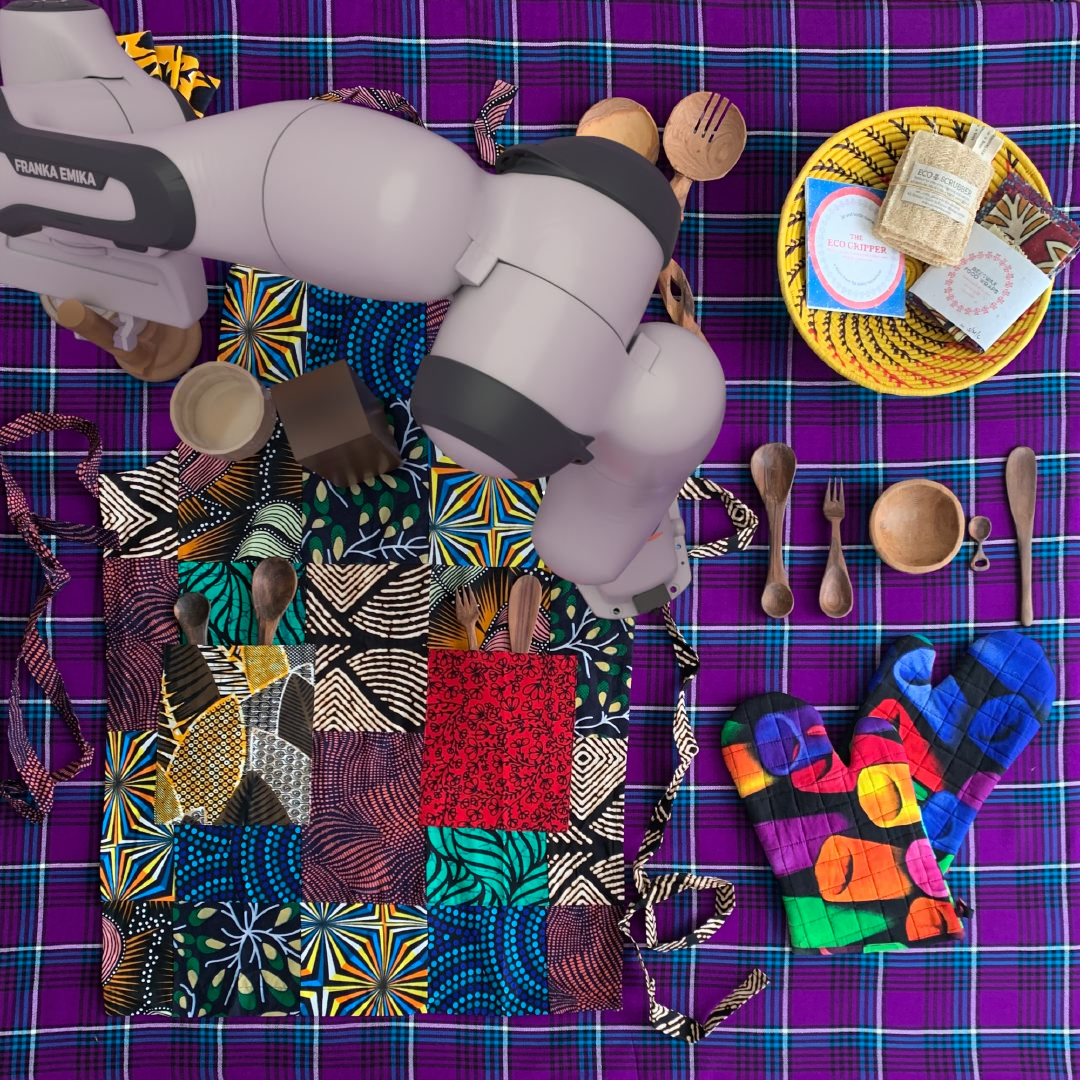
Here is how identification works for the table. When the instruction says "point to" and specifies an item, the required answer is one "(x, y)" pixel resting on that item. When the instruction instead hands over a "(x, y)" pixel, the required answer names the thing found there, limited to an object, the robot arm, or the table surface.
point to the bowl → (222, 411)
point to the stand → (336, 425)
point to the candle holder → (172, 341)
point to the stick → (106, 336)
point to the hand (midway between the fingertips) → (107, 342)
